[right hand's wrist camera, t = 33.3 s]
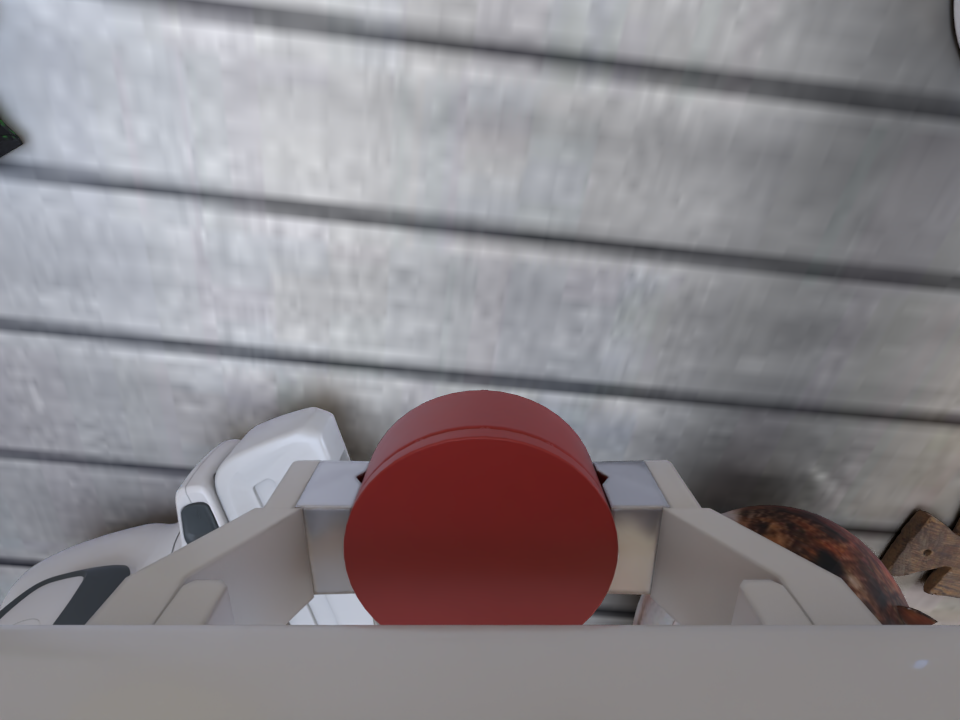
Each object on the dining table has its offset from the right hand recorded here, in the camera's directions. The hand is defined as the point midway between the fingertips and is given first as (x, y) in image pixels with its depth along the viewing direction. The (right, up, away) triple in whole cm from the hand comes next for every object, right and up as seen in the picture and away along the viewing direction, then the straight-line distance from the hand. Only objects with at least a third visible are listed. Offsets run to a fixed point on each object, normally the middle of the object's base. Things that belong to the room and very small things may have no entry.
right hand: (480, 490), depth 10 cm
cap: (0, -1, -2) cm, 2 cm away
